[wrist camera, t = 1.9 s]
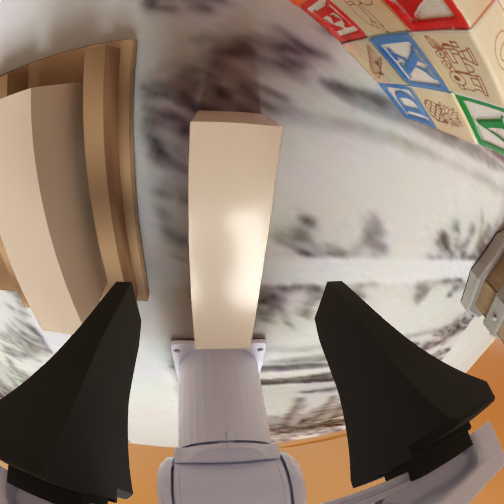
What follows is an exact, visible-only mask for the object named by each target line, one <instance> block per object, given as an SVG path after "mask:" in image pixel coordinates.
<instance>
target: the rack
mask: <svg viewBox="0 0 504 504" xmlns="http://www.w3.org/2000/svg"><path fill="white" fill-rule="evenodd" d="M136 50H137V40H135V39H126V40H120V41H113V42H108V43H102V44H97V45H92V46H88V47H83V48H79V49H75V50H71V51H68V52H64V53H60V54H57V55H54V56H50V57H47V58H44V59H41V60H38V61H35V62H33V63H30V64H27V65H25V66H22V67H19V68H17V69H15V70H12V71H10V72H8V73H5V74H3V75H1V76H0V99H2V98H4V97H7V96H9V95H12V94H15V93H18V92H20V91H23V90H26V89H29V88H34V87H41V86H48V85H57V84H67V83H80V82H83V124H84V143H85V156H86V167H87V176H88V184H89V192H90V198H91V205H92V211H93V217H94V222H95V228H96V233H97V238H98V243H99V247H100V252H101V256H102V260H103V264H104V268H105V272H106V276H107V280H108V281H107V284H106V286H105V289H104V292H103V294H102V297H101V299H102V298H103V297H104V296H105V295H106V293H107V292H108V291H109V290H110V288H111V287H112V286H113V285H114V284H115V283H116V282H132V284H133V289H134V293H135V298H136V301H137V300H140V301H148V296H149V289H148V283H147V277H146V271H145V265H144V258H143V251H142V244H141V236H140V228H139V219H138V209H137V198H136V185H135V169H134V143H133V101H134V76H135V61H136ZM0 290H6V291H15V292H18V295H19V297H20V299H21V301H22V303H23V305H24V307H29V308H30V306H29V304H28V302H27V300H26V298H25V296H24V294H23V292H22V289H21V287H20V285H19V283H18V280H17V278H16V276H15V273H14V271H13V268H12V266H11V263H10V261H9V258H8V256H7V253H6V250H5V247H4V244H3V242H2V239H1V236H0Z"/></svg>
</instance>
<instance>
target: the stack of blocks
mask: <svg viewBox="0 0 504 504" xmlns="http://www.w3.org/2000/svg"><path fill="white" fill-rule="evenodd" d="M290 1H291V2H292V3H294V4H295V5H296V6H299V7H301V8H302V9H303V10H304V11H306V12H307V13H308V14H309V15H310V16H312V17H313V18H314V19H315V20H316V21H318V22H319V23H320V24H321V25H322V26H323V27H325V28H326V29H327V30H328V31H329V32H330V33H331V34H333V35H334V36H335V37H336V38H337V39H338V40H339V41H341V42H342V45H343V47H344V48H345V49H346V50H347V51H348V52H349V53H350V54H351V55H352V56H353V57H354V58H355V59H356V60H357V61H358V62H359V63H360V64H361V65H362V66H363V67H364V69H365V70H366V71H367V72H368V73H369V74H370V75H371V76H372V77H373V79H374V80H375V81H377V82H378V83H379V85H380V86H381V87H382V89H383V90H384V91H385V92H386V93H387V95H388V96H389V97H390V98H391V100H392V101H393V102H394V103H395V105H396V106H397V107H398V109H399V110H400V111H401V113H402V114H403V115H404V116H405V117H406V118H408V119H411V120H414V121H417V122H420V123H423V124H426V125H428V126H431V127H434V128H438V129H439V130H441V131H444V132H446V133H449V134H451V135H454V136H456V137H458V138H461V139H463V140H466V141H468V142H470V143H473V144H478V143H479V144H481V145H482V146H484V147H486V148H488V149H490V150H493V151H495V152H497V153H499V154H501V155H503V156H504V0H290Z"/></svg>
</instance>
